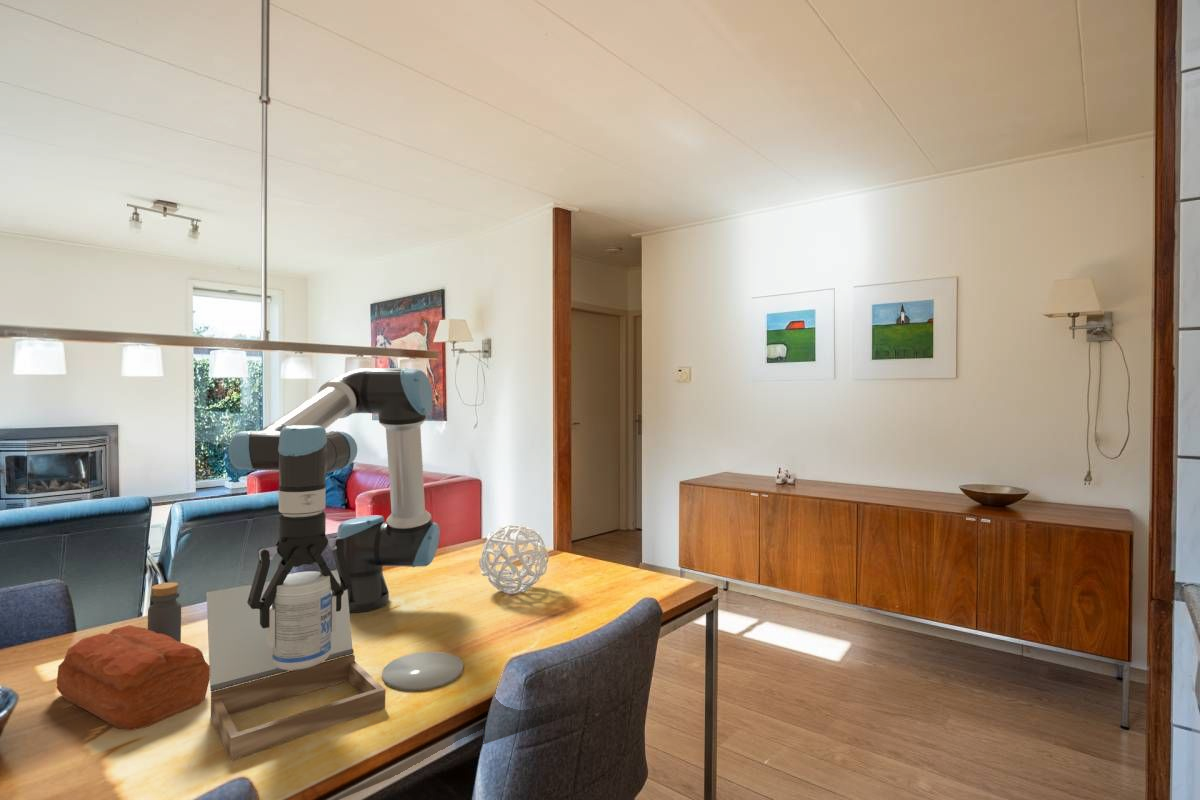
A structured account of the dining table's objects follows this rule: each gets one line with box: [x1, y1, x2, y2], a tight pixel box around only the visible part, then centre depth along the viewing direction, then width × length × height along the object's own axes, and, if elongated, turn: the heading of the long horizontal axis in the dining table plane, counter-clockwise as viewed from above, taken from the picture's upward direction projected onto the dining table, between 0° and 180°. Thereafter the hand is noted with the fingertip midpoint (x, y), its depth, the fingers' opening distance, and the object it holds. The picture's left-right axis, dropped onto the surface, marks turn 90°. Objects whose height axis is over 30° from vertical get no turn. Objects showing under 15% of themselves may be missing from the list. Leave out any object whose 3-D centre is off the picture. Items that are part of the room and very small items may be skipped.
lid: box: [206, 569, 355, 693], centre depth 116 cm, size 17×24×2 cm
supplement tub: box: [272, 570, 331, 671], centre depth 108 cm, size 10×10×15 cm
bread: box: [56, 624, 210, 731], centre depth 112 cm, size 16×27×11 cm, turn 62°
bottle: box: [147, 581, 182, 643], centre depth 130 cm, size 6×6×15 cm
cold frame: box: [210, 653, 386, 761], centre depth 108 cm, size 16×24×4 cm
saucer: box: [381, 651, 464, 692], centre depth 125 cm, size 16×16×1 cm
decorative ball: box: [478, 524, 550, 595], centre depth 176 cm, size 20×20×19 cm
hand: (301, 636), depth 108 cm, fingers closed on supplement tub, 9 cm apart
